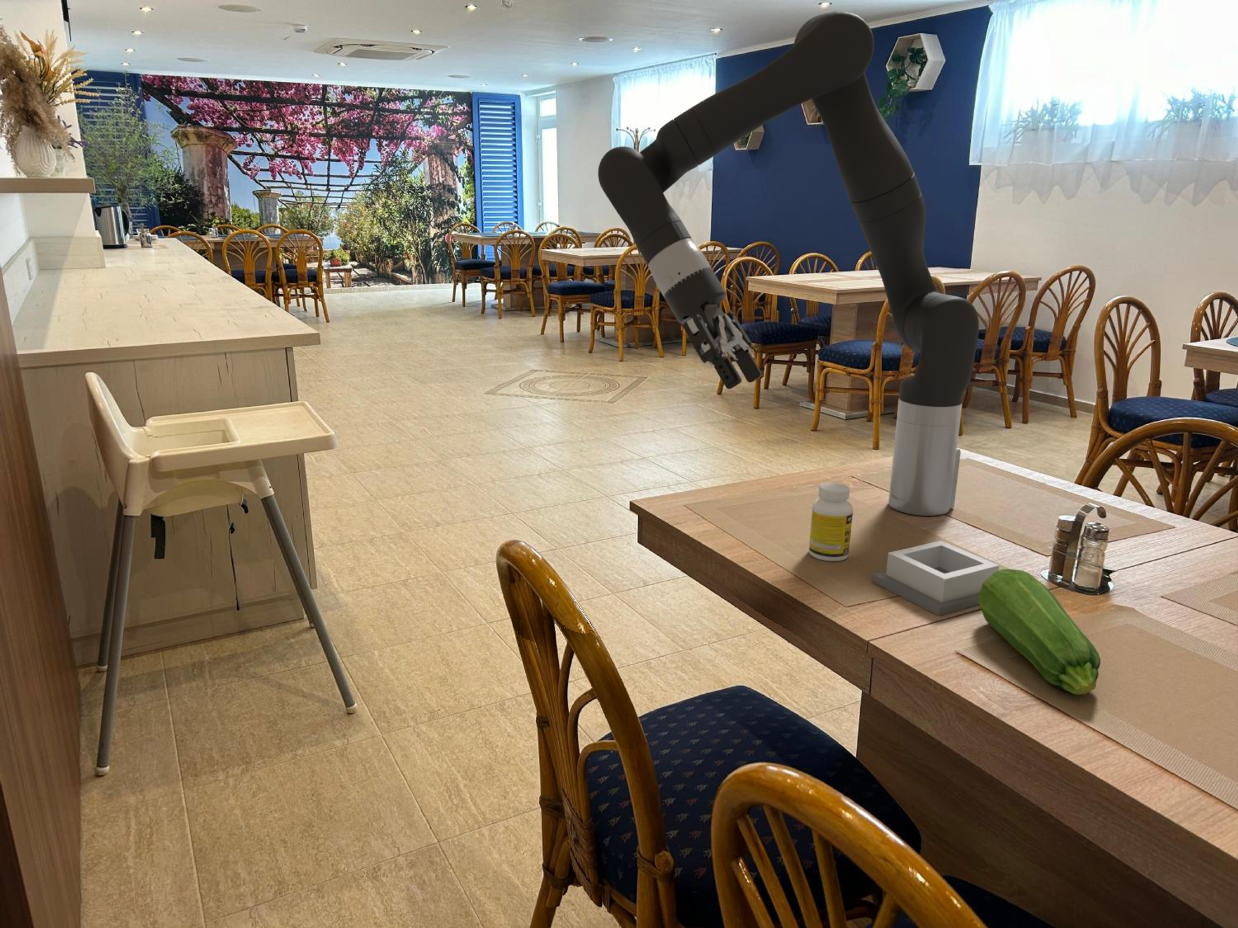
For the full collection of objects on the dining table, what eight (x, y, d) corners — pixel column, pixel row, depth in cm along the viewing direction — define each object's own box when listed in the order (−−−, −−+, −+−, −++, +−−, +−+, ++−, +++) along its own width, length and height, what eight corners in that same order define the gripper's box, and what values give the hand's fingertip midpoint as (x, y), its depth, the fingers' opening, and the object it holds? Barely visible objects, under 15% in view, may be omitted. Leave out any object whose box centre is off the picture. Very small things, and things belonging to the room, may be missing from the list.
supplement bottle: (849, 564, 120) (855, 494, 117) (808, 560, 121) (813, 491, 118) (848, 549, 125) (853, 482, 122) (808, 546, 126) (813, 479, 123)
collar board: (940, 564, 120) (943, 536, 119) (1009, 596, 111) (1013, 565, 110) (872, 581, 115) (874, 552, 113) (938, 615, 105) (942, 584, 104)
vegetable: (1020, 549, 103) (1116, 631, 84) (1039, 599, 105) (1138, 691, 86) (960, 575, 104) (1042, 663, 85) (981, 625, 106) (1065, 722, 87)
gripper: (688, 264, 115) (751, 373, 114) (726, 265, 127) (784, 364, 126) (643, 297, 119) (705, 403, 117) (685, 294, 131) (741, 390, 130)
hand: (746, 382), depth 122 cm, fingers open, 8 cm apart
